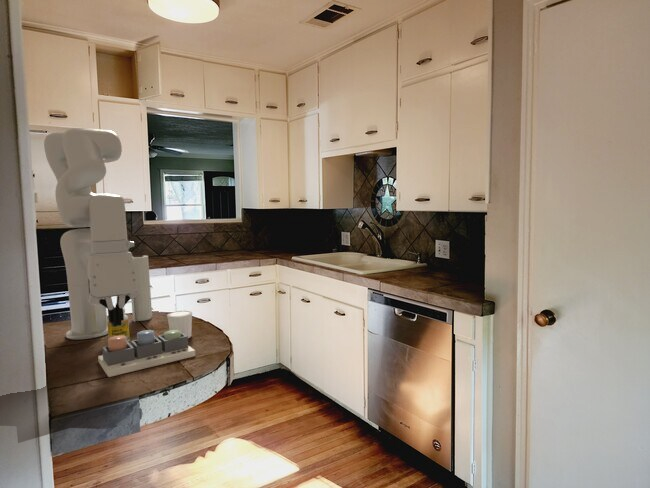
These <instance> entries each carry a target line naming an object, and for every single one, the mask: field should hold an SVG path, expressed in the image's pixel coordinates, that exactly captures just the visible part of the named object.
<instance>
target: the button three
mask: <svg viewBox="0 0 650 488" xmlns="http://www.w3.org/2000/svg"><path fill="white" fill-rule="evenodd" d="M163 335H164V339H165V340H170V339H175V338H179V337H181V331H180V330H166V331H164V332H163Z"/></svg>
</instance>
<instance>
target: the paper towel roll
mask: <svg viewBox="0 0 650 488" xmlns="http://www.w3.org/2000/svg"><path fill="white" fill-rule="evenodd" d="M132 256H133V260H134V265H135V270H136V276H137V283H138V289H137V290H138V293H139V296H138V297H136V298H133V299H130V300H131V312H132V321H133V322H134V323H136V322H142V321H148V320H151V319H152V318H153V308H152V307H153V306H152V293H151V283H150V282H151V281H150V280H151V278H150V268H149V267H150V266H149V265H150V263H149V255H132Z"/></svg>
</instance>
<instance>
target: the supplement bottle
mask: <svg viewBox="0 0 650 488" xmlns="http://www.w3.org/2000/svg"><path fill="white" fill-rule="evenodd" d="M125 313H126V309H125V307H124V308H123V317H124V320H123V321H121V324H122V325H117V326H113V325H112V323H109V319H108V318H107V326H108V334H107V335H108V339H109V338H110V337H114V336H120V335H123V336H126V338H127V342H129V343H130V342H131V336H130V325H129V317H128V315H126V314H125Z"/></svg>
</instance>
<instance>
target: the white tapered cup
mask: <svg viewBox="0 0 650 488" xmlns="http://www.w3.org/2000/svg"><path fill="white" fill-rule="evenodd" d="M166 317H167V323H168V329H169V330H168V331H170V330H180V331H181V332H182V333H184V334H185V335H187V336H188V339H190V338H191V337H192V332H193V331H192V324H193V322H192V321H193V312H192V311H190V310H179V311H178V310H177V311H172V312H170V313H168V314H166Z"/></svg>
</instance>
